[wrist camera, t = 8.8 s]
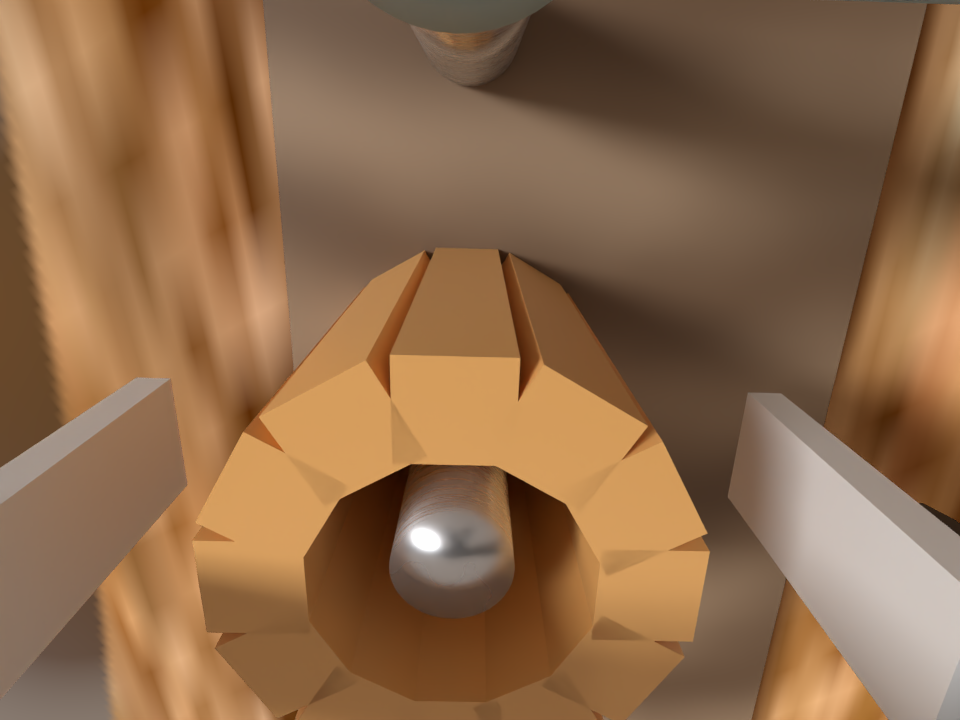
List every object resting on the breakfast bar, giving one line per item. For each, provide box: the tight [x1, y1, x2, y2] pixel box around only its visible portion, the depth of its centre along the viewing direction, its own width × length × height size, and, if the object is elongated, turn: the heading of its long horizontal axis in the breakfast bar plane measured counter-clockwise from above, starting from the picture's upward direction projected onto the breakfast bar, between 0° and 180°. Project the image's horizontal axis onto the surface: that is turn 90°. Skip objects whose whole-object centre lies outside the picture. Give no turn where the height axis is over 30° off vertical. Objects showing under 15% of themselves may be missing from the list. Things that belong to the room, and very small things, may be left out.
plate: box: [263, 0, 927, 720], centre depth 19 cm, size 30×16×2 cm, turn 178°
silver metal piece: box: [389, 15, 531, 619], centre depth 12 cm, size 11×2×9 cm, turn 178°
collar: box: [192, 248, 710, 720], centre depth 13 cm, size 8×8×9 cm
